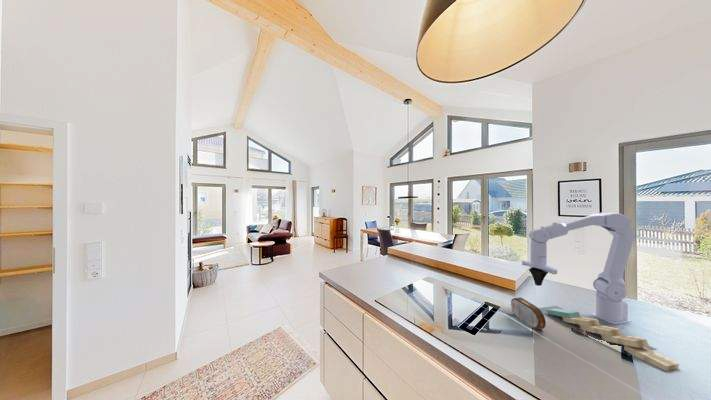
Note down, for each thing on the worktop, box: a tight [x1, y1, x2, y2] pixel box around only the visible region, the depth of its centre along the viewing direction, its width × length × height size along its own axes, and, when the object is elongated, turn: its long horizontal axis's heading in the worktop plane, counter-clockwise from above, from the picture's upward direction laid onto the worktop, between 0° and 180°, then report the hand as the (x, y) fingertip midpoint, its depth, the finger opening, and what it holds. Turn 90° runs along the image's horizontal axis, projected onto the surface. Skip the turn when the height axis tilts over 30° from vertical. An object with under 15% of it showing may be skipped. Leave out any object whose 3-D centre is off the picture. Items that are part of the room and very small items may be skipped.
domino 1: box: [547, 308, 581, 318], centre depth 94 cm, size 5×2×9 cm
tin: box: [510, 296, 547, 330], centre depth 92 cm, size 15×3×8 cm, turn 2°
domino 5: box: [624, 345, 680, 372], centre depth 71 cm, size 5×2×9 cm
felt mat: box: [538, 305, 658, 356], centre depth 89 cm, size 14×31×1 cm, turn 13°
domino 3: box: [580, 324, 623, 337], centre depth 83 cm, size 5×2×9 cm
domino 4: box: [601, 334, 650, 348], centre depth 76 cm, size 5×2×9 cm
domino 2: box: [562, 316, 601, 327], centre depth 88 cm, size 5×2×9 cm
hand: (538, 285), depth 104 cm, fingers closed
